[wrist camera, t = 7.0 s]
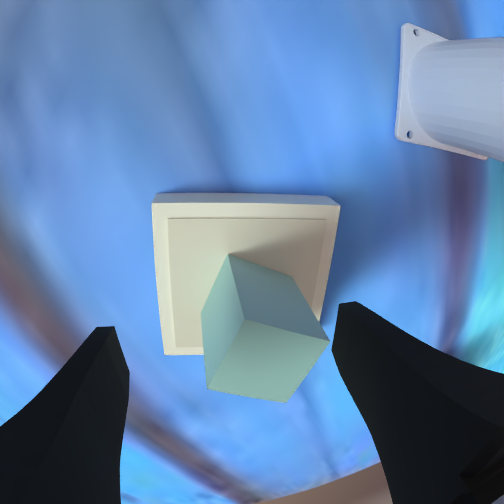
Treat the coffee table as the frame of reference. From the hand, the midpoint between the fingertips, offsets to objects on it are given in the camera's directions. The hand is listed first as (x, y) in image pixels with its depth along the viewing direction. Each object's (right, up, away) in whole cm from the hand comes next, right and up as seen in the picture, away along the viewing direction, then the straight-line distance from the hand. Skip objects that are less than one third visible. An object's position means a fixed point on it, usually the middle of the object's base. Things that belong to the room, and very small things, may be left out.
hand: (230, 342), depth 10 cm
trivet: (0, +2, +11) cm, 11 cm away
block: (0, 0, +9) cm, 9 cm away
